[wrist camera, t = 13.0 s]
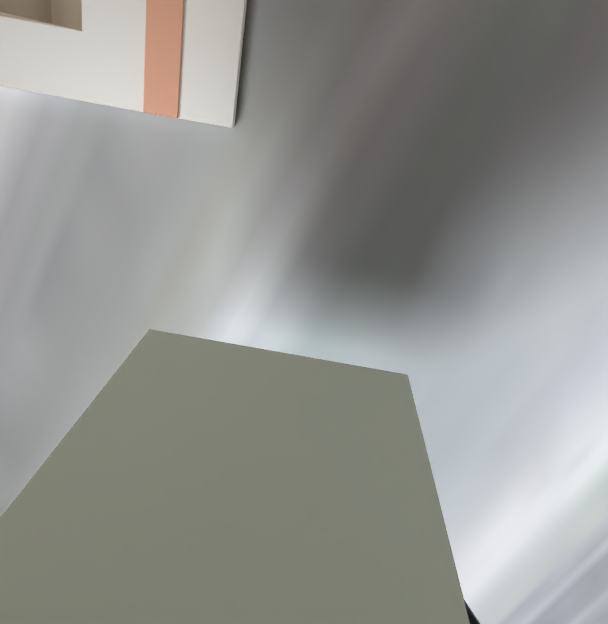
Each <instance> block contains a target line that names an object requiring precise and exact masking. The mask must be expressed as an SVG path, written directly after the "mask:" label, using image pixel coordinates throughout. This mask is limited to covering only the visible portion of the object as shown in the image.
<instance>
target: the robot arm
mask: <svg viewBox="0 0 608 624" xmlns="http://www.w3.org/2000/svg"><path fill="white" fill-rule="evenodd" d="M464 603H465V607H466V611H467V615H468V619H469V623H470V624H480V623H479V621H478V620H477V618H476V617H475V615H474V614H473V612H472V611H471V609H470V608H469V606H468V605H467V603H466V602H465V600H464Z"/></svg>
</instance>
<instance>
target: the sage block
mask: <svg viewBox="0 0 608 624" xmlns="http://www.w3.org/2000/svg"><path fill="white" fill-rule="evenodd" d="M0 624H470V623H469V619H468V615H467V611H466V607H465V603H464V599H463V595H462V591H461V587H460V583H459V579H458V575H457V571H456V567H455V563H454V559H453V555H452V551H451V547H450V543H449V539H448V535H447V531H446V526H445V522H444V518H443V514H442V510H441V506H440V502H439V498H438V494H437V490H436V486H435V482H434V478H433V474H432V470H431V466H430V462H429V458H428V454H427V450H426V446H425V442H424V438H423V434H422V430H421V426H420V422H419V418H418V414H417V410H416V406H415V402H414V398H413V394H412V390H411V386H410V382H409V378H408V375H406V374H401V373H395V372H389V371H384V370H378V369H372V368H366V367H361V366H355V365H349V364H344V363H338V362H332V361H327V360H321V359H315V358H310V357H304V356H298V355H293V354H287V353H281V352H276V351H270V350H264V349H258V348H253V347H247V346H241V345H236V344H230V343H224V342H219V341H213V340H207V339H202V338H196V337H190V336H185V335H179V334H173V333H168V332H162V331H156V330H150V329H149V331H148V332H147V333H146V335H145V336H144V337H143V338H142V340H141V341H140V342H139V343H138V345H137V346H136V347H135V348H134V350H133V351H132V352H131V354H130V355H129V356H128V357H127V359H126V360H125V361H124V362H123V364H122V365H121V366H120V367H119V369H118V370H117V371H116V373H115V374H114V375H113V376H112V378H111V379H110V380H109V381H108V383H107V384H106V385H105V386H104V388H103V389H102V390H101V391H100V393H99V394H98V395H97V397H96V398H95V399H94V400H93V402H92V403H91V404H90V405H89V407H88V408H87V409H86V410H85V412H84V413H83V414H82V416H81V417H80V418H79V419H78V421H77V422H76V423H75V424H74V426H73V427H72V428H71V429H70V431H69V432H68V433H67V435H66V436H65V437H64V438H63V440H62V441H61V442H60V443H59V445H58V446H57V447H56V448H55V450H54V451H53V452H52V454H51V455H50V456H49V457H48V459H47V460H46V461H45V462H44V464H43V465H42V466H41V467H40V469H39V470H38V471H37V473H36V474H35V475H34V476H33V478H32V479H31V480H30V481H29V483H28V484H27V485H26V486H25V488H24V489H23V490H22V491H21V493H20V494H19V495H18V497H17V498H16V499H15V500H14V502H13V503H12V504H11V505H10V507H9V508H8V509H7V510H6V512H5V513H4V514H3V516H2V517H1V518H0Z"/></svg>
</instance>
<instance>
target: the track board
mask: <svg viewBox="0 0 608 624" xmlns="http://www.w3.org/2000/svg"><path fill="white" fill-rule="evenodd" d="M81 1H82V31H77V30H72V29H66V28H61V27H56V26H50V25H45V24H39V23H34V22H28V21H23V20H17V19H12V18H6V17H1V16H0V86H2V87H8V88H14V89H19V90H25V91H30V92H36V93H41V94H47V95H52V96H58V97H63V98H69V99H74V100H80V101H86V102H91V103H97V104H102V105H108V106H113V107H119V108H124V109H130V110H135V111H141V112H144V113H150V114H155V115H161V116H166V117H172V118H180V119H185V120H191V121H196V122H202V123H207V124H213V125H218V126H224V127H230V128H233V127H234V126H235V116H236V106H237V96H238V86H239V76H240V66H241V56H242V46H243V36H244V26H245V16H246V5H247V0H81Z"/></svg>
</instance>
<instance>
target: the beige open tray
mask: <svg viewBox="0 0 608 624" xmlns="http://www.w3.org/2000/svg"><path fill="white" fill-rule="evenodd" d="M0 16H1V17H6V18H12V19H17V20H23V21H28V22H34V23H39V24H45V25H50V26H56V27H61V28H66V29H72V30H77V31H82V1H81V0H0Z"/></svg>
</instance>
